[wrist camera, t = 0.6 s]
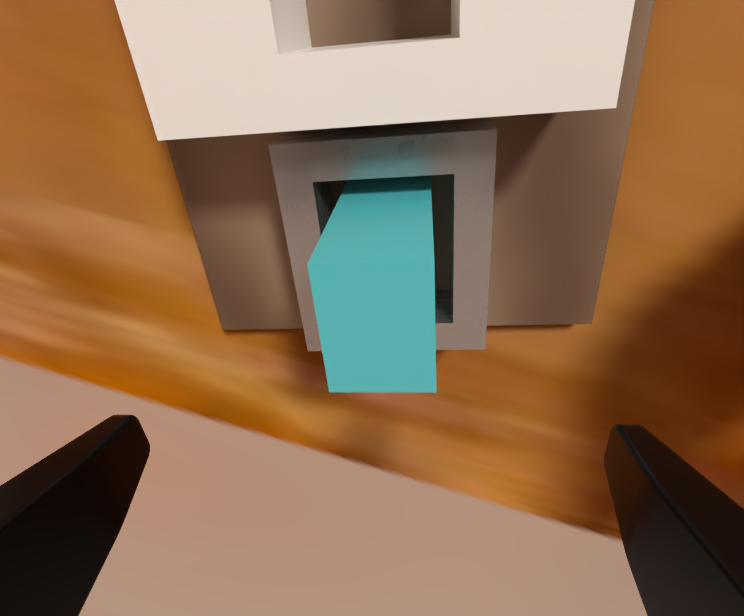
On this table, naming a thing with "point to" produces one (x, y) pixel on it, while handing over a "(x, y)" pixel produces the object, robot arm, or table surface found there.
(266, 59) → the port box
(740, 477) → the table surface
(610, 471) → the robot arm
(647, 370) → the table surface
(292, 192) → the holster
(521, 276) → the board
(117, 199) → the table surface
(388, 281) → the plug
